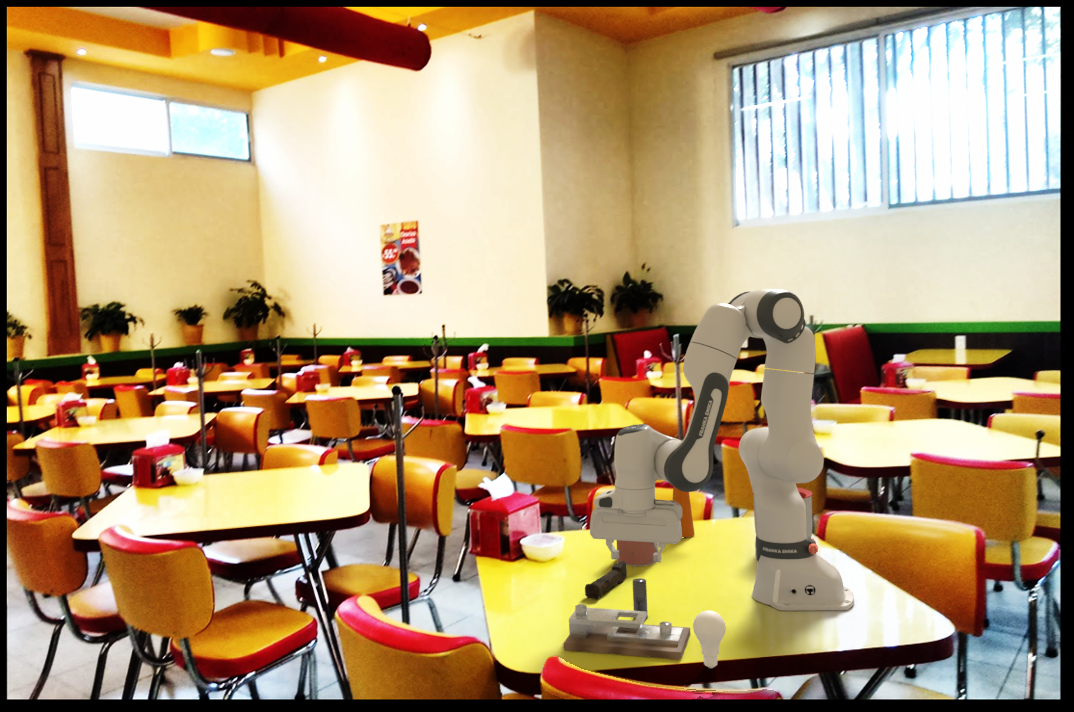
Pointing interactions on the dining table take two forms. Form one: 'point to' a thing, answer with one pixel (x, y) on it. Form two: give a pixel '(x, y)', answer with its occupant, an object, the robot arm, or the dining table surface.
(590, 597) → the hand tool
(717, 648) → the lightbulb
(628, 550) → the canned food
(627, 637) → the metal clamp fixture
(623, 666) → the dining table surface
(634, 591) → the steel pin
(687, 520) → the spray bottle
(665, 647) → the walnut board
